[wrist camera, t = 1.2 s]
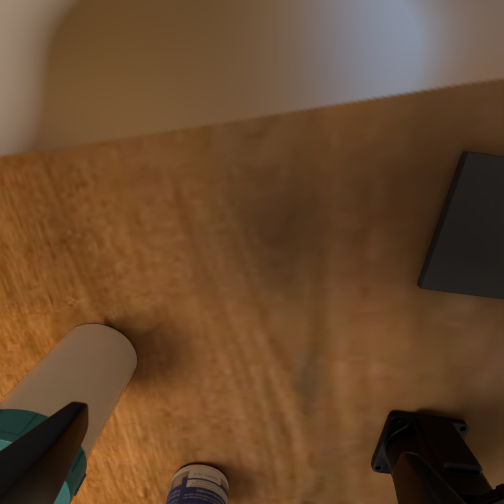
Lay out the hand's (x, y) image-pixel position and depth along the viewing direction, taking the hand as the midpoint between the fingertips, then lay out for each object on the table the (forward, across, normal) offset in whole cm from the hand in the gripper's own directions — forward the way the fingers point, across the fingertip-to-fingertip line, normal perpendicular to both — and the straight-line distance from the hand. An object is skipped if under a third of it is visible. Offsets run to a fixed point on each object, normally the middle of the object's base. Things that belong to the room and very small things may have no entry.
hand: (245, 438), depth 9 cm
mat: (+14, -16, -5) cm, 22 cm away
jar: (+14, +11, +10) cm, 20 cm away
